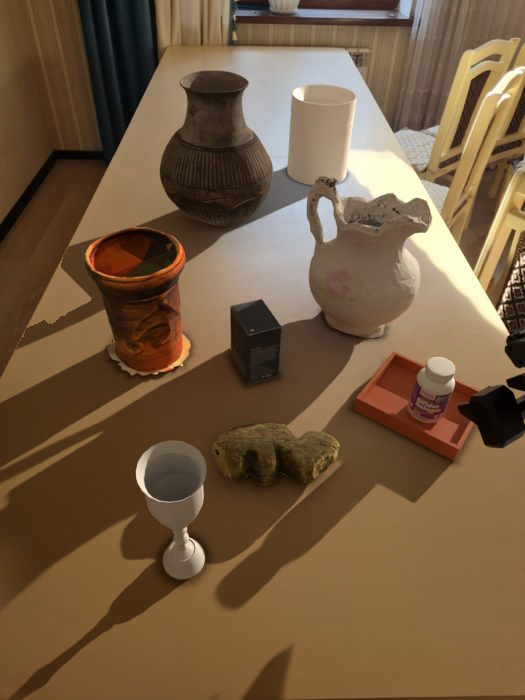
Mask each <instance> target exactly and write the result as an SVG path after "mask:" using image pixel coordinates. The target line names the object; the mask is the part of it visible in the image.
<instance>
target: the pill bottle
mask: <svg viewBox="0 0 525 700" xmlns="http://www.w3.org/2000/svg"><path fill="white" fill-rule="evenodd" d="M425 365H426V366H425V368H423V369H421V370H420V371H419V373H418V375H417V378H416V380H415V383H414V386H413V390H412V393H411V396H410V399H409V402H408V411H409V413H410V414H411V416H412V417H413V418H415V419H416V420H418V421H420V422H423V423H435V422H437V421H439V420H440V419H441V418H442V416H443V414H444V412H445V409H446V407H447V404H448V402H449V399H450V397H451V394H452V392H453V390H454V386H455V380H454V378H455V377H454V376H455V373H456V366H455V364H454V363H453V362H452V361H451V360H450V359H448V358H445V357H442V356H432V357H430V358H429V359H428V360H427V361H426V363H425Z"/></svg>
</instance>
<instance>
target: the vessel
mask: <svg viewBox="0 0 525 700" xmlns="http://www.w3.org/2000/svg"><path fill="white" fill-rule="evenodd" d="M83 259H84V260H83V261H84V267H85V270H86V273H87V274H88V275H89V277H90V278H91V279H92V281H93V282H94V284H95V285H96V287H97V288H98V290H99V292H100V295H101V299H102V304H103V306H104V311H105V313H106V316H107V321H108V324H109V328H110V330H111V333H112V336H113V337H112V338H113V341H112V343H110V344H109V345H108V346H107V347H106V350H107V352H108V355H109V357H110V358H111V359H112V360H114V361H115V362H116V361H117V362H119V363H118V364H117V366H120V368H121V370H123V371H126V372H128V373H129V374H130V376H134V375H136V374H138V375H140V376H143V377H144V376H149V375H150V374H152V375H158V374H159V373H162V372H163V373H167V372H169V371H172V370H174V369H175V368H174V367H179V366H181V367H183V366H184V364H183V362H184V361H185V360H186V359H187V358H188V357H189V355H190V351H189V350H190V349H191V346H192V344H191V342H190V340H189V339H188V338H187V336H186V335H185V334H183V328H182V326H183V321H182V320H183V319H182V314H181V310H182V309H181V308H182V303H181V293H180V286H179V280H180V276H181V274H182V273H183V271H184V269H185V266H186V253H185V250H184V247H183V245H182V244H181V242H180V241H179V240H178V239H177V238H176V237H174V236H173V235H171V234H169V233H166V232H163V231H160V230H157V229H155V228H150V227H146V226H145V227H143V226H142V227H139V226H131V227H126V228H122V229H119V230H115V231H111V232H109V233H107V234H105V235H103V236H102V237H100V238H98V239H96V240H95V241H94V242H92V243H91V244H90V245H89V246H88V247H87V249H86V251H85V253H84V257H83Z"/></svg>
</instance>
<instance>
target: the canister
mask: <svg viewBox="0 0 525 700" xmlns="http://www.w3.org/2000/svg"><path fill="white" fill-rule="evenodd" d="M357 97H358V95H357V94H356V92H355V91H353V90H352V89H349V88H346V87H343V86H338V85H333V84H321V83H320V84H319V83H317V84H315V83H314V84H306V85H301V86H298V87H296V88H294V89H292V92H291V102H290V103H291V104H290V117H289V118H290V119H289V135H288V136H289V137H288V139H289V140H288V152H287V168H286V169H287V170H286V173H287V174H288V177H290V178H291V179H292V180H293V181H296V182H298V183H300V184H304V185H308V186H313V185H314V184H315V180H317V179H318V178H319V177H320V176H321V177H322V176H323V177H324V176H325V177H328V178H331V179H333V178H335V179H338V183H336V185H337V184H339V183H341V182H343V181H344V180H345V179H346V178H347V171H348V164H349V158H350V157H349V156H350V149H351V144H352V135H353V127H354V117H355V113H356V106H357Z"/></svg>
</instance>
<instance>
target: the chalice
mask: <svg viewBox="0 0 525 700" xmlns="http://www.w3.org/2000/svg"><path fill="white" fill-rule="evenodd" d="M205 459H206V458H205V457H204V456H203V454H202V453H201V451H200V450H198V448H197V447H195V446H194V445H192V444H190V443H188V442H185V441H181V440H173V439H171V440H165V441H161V442H158V443H156V444H154V445H152V446H150V447H149V448H148V449H147V450H146V451H145V452H143V453H142V455H141V456H140V458H139V460H138V462H137V463H136V464H137V465H136V469H135V477H136V482H137V484H138V486H139V488H140V490H141V491H142V492H143V493H144V496H145V501H146V505H147V508H148V510H149V513H150V514H151V516H152V517H154V518H155V519H156V520H157V521H158V522H159V523H160V524H161V525H162V526H164V527H167V528H169V529H171V530H172V533H173V534H174V535H173V540H172V542H170V544H169V545H168V547H166V549H165V551H164V553H163V557H162V564H163V569H164V570H165V572H166V573H167V574H168V575H169V576H170V577H172V578H174V579H176V580H188V579H191V578H193V577H195V576H197V575H198V574H199V573H200V572H201V571H202V569H203V567H204V565H205V561H206V553H205V550H204V548H203V546H202V545H201V544H200V543H199V542H198V541H196V540H194V539H193V538H191V537H189V536H190V535H189V533H188V526H190V525H191V524H192V523H193V522H194V521H195V520H196V518H197V516H198V515H199V513H200V510H201V509H202V507H203V505H204V497H205V494H204V482H205V480H206V477H207V470H208V467H207V464H206V460H205Z"/></svg>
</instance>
